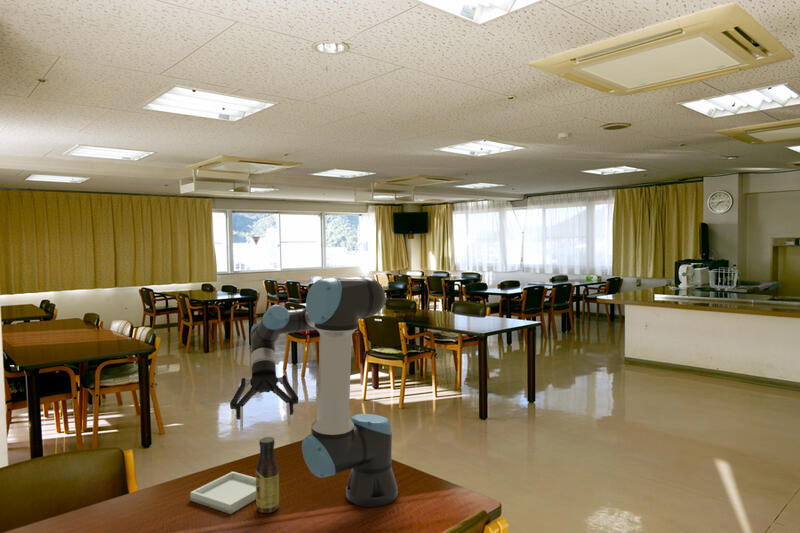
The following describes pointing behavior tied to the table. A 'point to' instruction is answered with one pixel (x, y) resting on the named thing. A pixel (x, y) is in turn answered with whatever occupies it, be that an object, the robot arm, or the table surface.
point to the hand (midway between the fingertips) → (265, 426)
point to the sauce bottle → (267, 477)
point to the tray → (227, 492)
